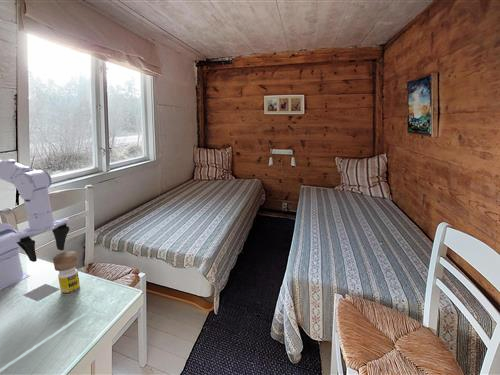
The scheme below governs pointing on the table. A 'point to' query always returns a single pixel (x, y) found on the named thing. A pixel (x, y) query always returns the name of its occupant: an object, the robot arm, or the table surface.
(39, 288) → the mat
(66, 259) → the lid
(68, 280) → the supplement bottle
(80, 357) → the table surface
